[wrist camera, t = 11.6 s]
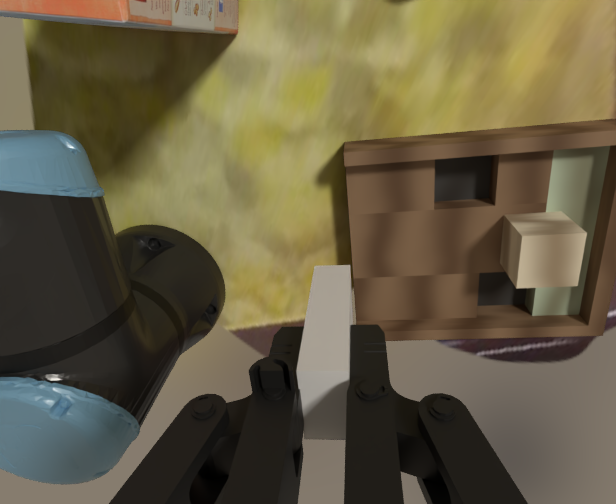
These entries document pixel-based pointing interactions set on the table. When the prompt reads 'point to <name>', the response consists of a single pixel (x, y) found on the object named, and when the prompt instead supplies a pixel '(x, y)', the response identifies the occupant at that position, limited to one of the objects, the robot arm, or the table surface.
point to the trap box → (478, 229)
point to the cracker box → (133, 13)
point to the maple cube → (542, 249)
